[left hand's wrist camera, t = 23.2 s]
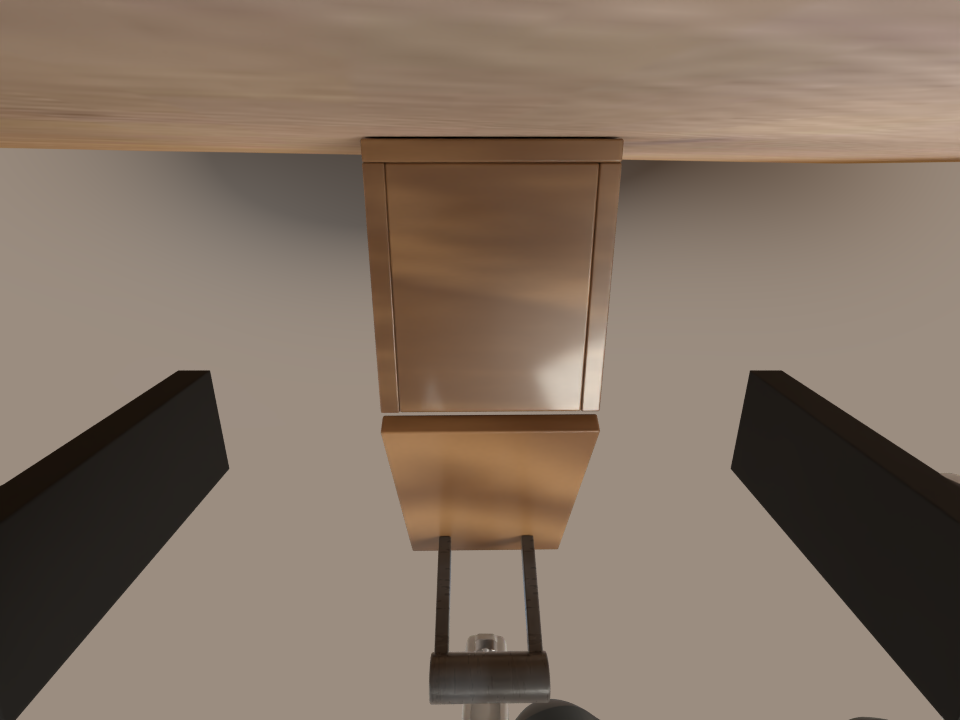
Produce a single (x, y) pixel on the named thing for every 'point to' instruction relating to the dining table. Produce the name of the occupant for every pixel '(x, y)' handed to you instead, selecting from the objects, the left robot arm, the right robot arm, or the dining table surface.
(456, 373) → the chest
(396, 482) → the lid
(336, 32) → the dining table surface
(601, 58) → the dining table surface
